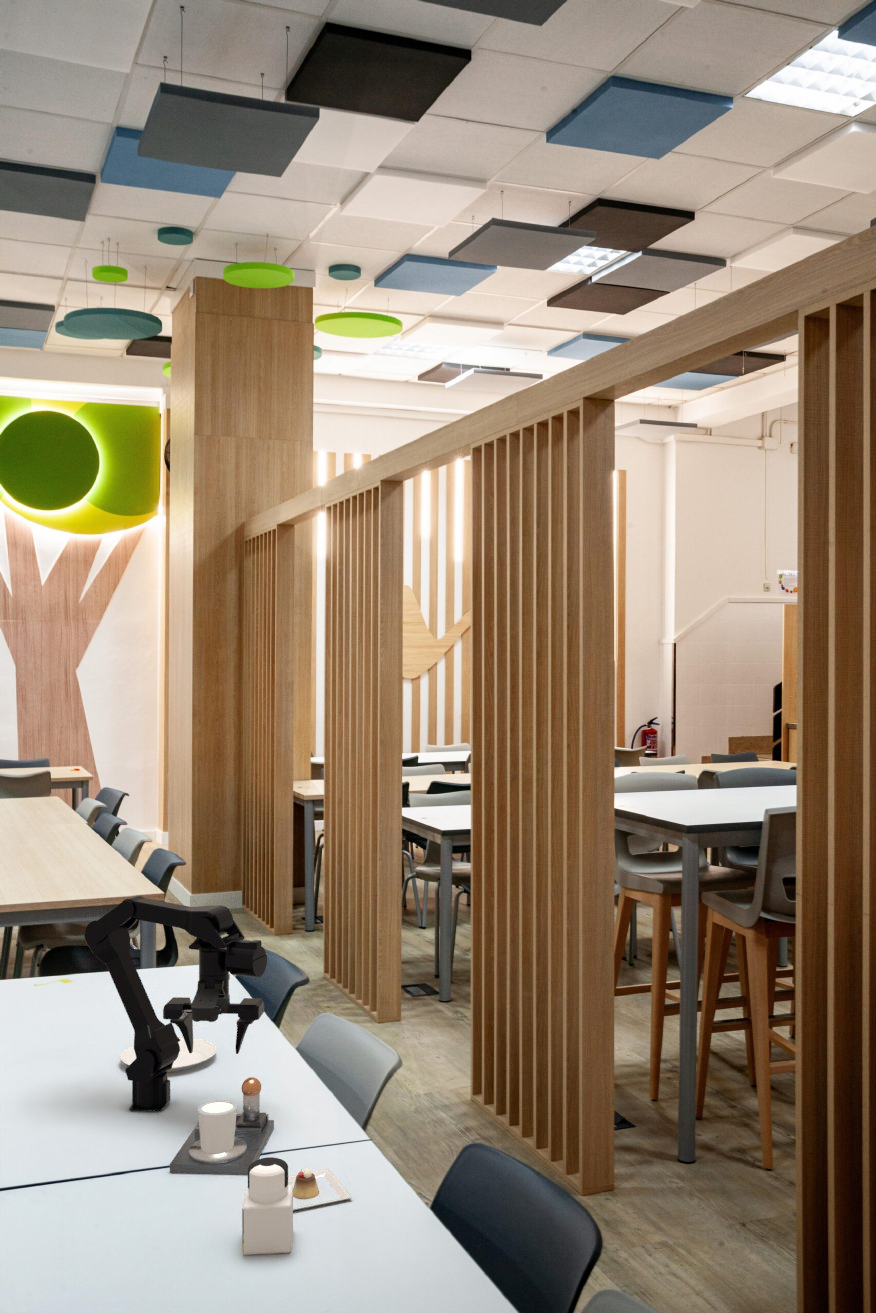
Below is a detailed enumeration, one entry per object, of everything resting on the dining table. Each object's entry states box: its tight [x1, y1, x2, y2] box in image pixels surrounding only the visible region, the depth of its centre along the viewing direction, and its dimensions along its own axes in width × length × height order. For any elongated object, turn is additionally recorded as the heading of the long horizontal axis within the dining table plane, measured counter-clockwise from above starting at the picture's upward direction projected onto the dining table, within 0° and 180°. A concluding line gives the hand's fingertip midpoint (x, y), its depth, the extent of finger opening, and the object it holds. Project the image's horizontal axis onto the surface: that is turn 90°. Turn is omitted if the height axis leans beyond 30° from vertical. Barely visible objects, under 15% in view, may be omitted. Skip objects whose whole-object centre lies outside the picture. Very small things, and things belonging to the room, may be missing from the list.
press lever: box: [237, 1076, 267, 1130], centre depth 210 cm, size 4×5×9 cm
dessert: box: [288, 1167, 352, 1212], centre depth 187 cm, size 12×12×5 cm
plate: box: [119, 1037, 218, 1073], centre depth 252 cm, size 21×21×2 cm
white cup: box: [197, 1100, 238, 1154], centre depth 200 cm, size 7×7×7 cm
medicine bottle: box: [241, 1156, 294, 1256], centre depth 171 cm, size 7×7×12 cm
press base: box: [169, 1113, 275, 1176], centre depth 205 cm, size 14×20×3 cm
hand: (214, 1052), depth 221 cm, fingers open, 9 cm apart
